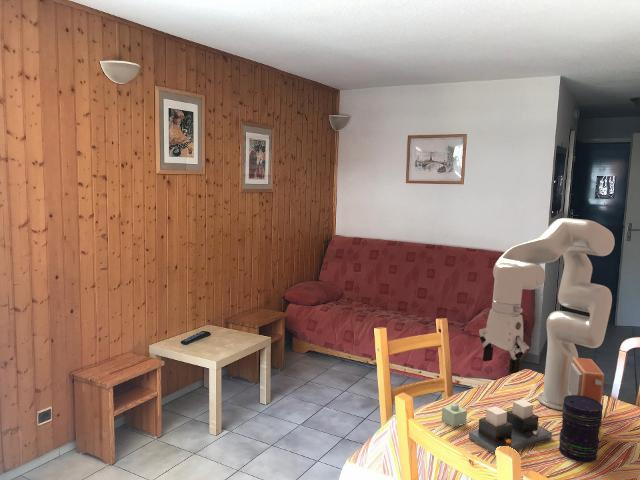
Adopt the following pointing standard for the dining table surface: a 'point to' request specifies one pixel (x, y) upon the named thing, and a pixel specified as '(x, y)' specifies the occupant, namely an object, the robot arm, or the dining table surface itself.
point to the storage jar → (580, 428)
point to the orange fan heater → (585, 379)
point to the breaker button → (522, 409)
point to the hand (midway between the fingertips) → (500, 366)
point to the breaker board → (510, 433)
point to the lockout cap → (454, 414)
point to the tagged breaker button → (496, 416)
